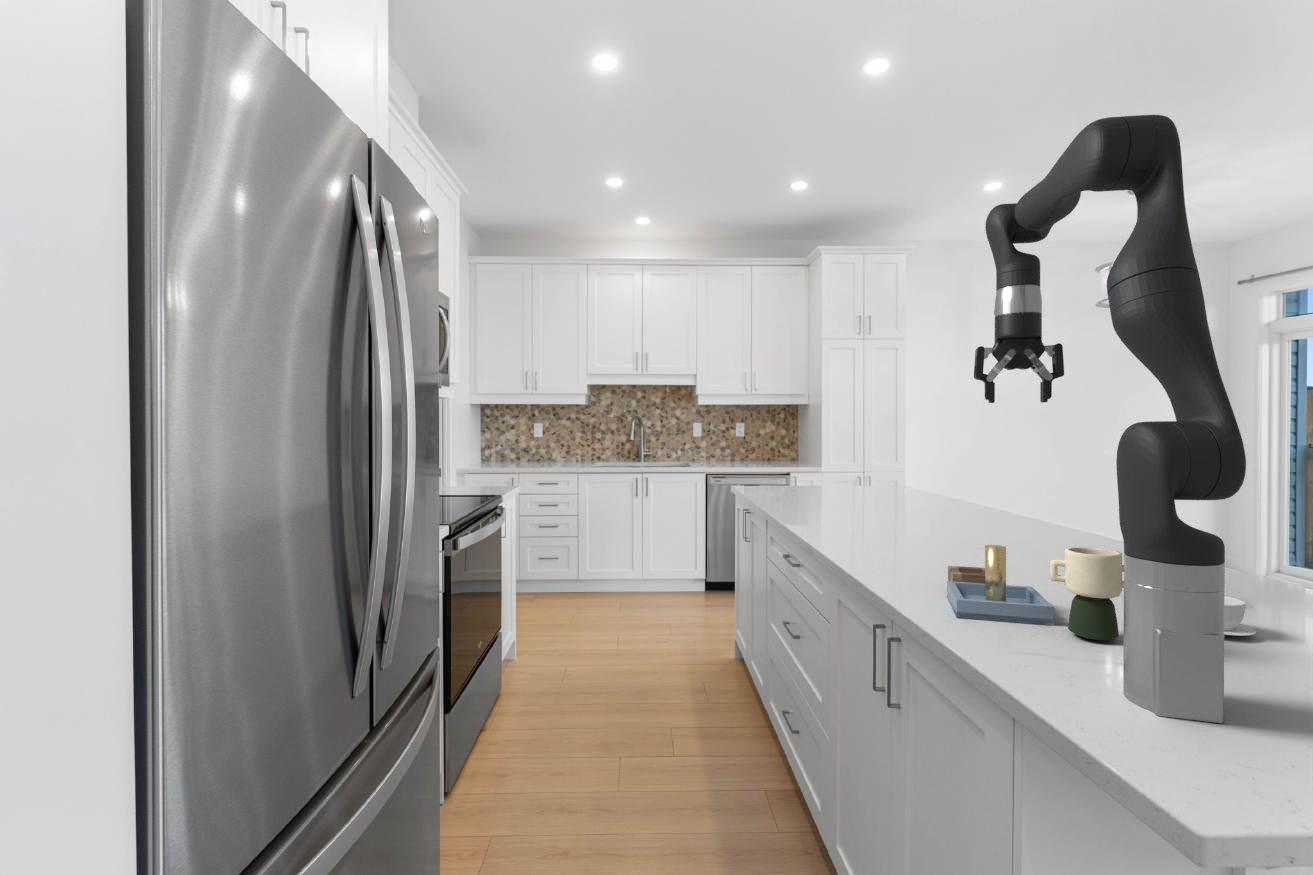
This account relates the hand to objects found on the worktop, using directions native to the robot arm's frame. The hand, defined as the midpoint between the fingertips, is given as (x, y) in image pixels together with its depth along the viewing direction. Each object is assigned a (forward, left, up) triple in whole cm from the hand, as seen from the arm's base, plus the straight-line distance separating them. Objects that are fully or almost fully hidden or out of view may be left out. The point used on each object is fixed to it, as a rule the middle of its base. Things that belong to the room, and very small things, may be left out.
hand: (1017, 402), depth 118 cm
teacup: (-9, -26, -36) cm, 46 cm away
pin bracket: (+4, +7, -36) cm, 37 cm away
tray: (-9, +5, -36) cm, 38 cm away
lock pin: (-9, +5, -35) cm, 37 cm away
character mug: (-21, -6, -36) cm, 42 cm away
